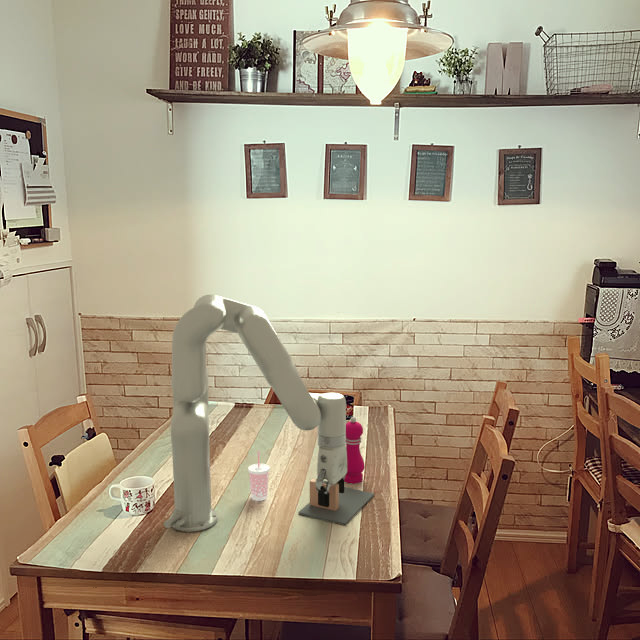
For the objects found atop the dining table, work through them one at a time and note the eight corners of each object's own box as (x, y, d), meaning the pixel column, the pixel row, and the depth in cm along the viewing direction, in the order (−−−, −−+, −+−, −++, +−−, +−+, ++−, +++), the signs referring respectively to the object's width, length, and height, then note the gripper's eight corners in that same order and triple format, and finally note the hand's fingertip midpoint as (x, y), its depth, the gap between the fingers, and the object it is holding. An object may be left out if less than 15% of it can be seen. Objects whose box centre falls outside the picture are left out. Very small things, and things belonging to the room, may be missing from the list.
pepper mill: (337, 482, 199) (337, 419, 196) (344, 473, 206) (345, 412, 202) (360, 486, 197) (361, 422, 193) (367, 476, 204) (368, 414, 200)
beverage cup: (265, 503, 186) (264, 456, 183) (245, 500, 188) (244, 453, 185) (273, 494, 192) (272, 448, 189) (253, 491, 193) (252, 445, 191)
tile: (335, 510, 180) (335, 486, 179) (309, 504, 184) (309, 481, 182) (338, 507, 182) (338, 484, 181) (313, 501, 185) (313, 478, 184)
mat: (345, 525, 173) (345, 523, 173) (298, 514, 179) (298, 512, 179) (374, 495, 191) (374, 493, 191) (330, 485, 197) (330, 484, 197)
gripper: (330, 452, 169) (329, 515, 172) (357, 431, 184) (356, 489, 187) (304, 447, 172) (304, 509, 175) (333, 427, 187) (332, 484, 190)
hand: (331, 498), depth 181 cm, fingers open, 9 cm apart
